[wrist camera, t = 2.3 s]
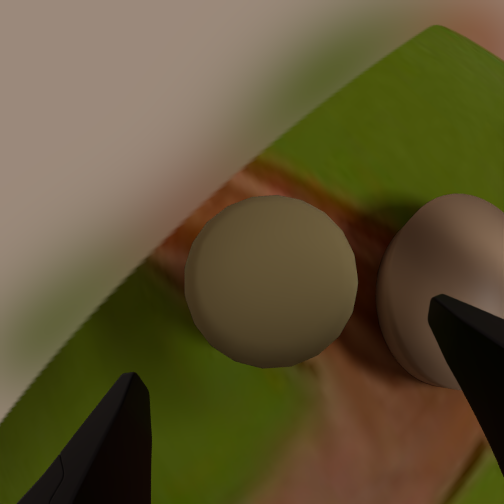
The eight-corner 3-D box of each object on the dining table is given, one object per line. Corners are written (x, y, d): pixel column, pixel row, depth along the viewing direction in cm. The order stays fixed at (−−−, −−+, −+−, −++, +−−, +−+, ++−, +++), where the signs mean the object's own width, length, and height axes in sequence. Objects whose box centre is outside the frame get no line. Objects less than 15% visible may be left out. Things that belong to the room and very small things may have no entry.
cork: (205, 296, 19) (122, 231, 8) (290, 246, 19) (302, 132, 9) (255, 383, 17) (224, 431, 7) (344, 329, 18) (427, 302, 7)
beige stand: (477, 412, 15) (502, 417, 12) (340, 334, 18) (352, 331, 15) (527, 265, 17) (550, 254, 15) (415, 183, 20) (430, 161, 17)
